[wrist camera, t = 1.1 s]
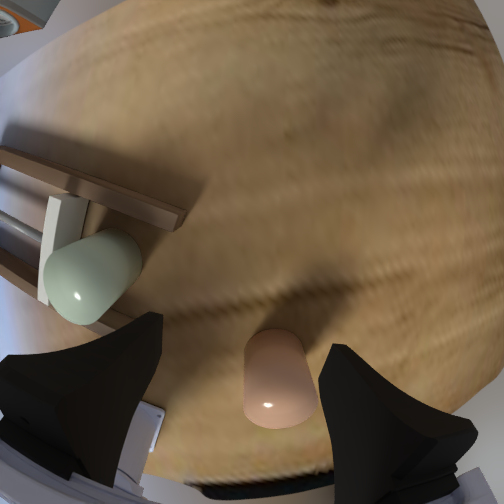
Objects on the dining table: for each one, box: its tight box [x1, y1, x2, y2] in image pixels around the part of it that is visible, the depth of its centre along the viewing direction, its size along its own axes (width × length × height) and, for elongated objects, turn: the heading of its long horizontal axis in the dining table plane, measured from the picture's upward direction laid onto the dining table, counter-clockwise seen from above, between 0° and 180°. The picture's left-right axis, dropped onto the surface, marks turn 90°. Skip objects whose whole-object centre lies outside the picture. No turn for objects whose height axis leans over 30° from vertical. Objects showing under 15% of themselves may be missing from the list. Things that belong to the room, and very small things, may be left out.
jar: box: [243, 329, 318, 429], centre depth 20 cm, size 5×5×6 cm
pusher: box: [0, 193, 89, 306], centre depth 17 cm, size 8×14×4 cm, turn 68°
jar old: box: [43, 228, 142, 325], centre depth 18 cm, size 5×5×6 cm
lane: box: [0, 146, 186, 336], centre depth 18 cm, size 11×22×4 cm, turn 68°
